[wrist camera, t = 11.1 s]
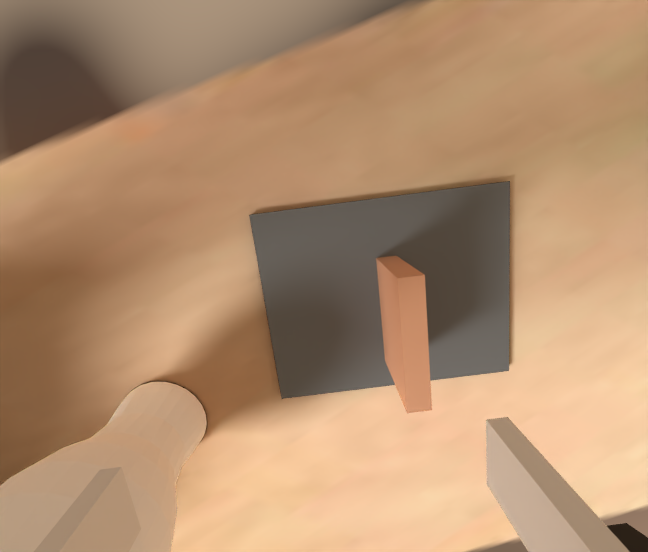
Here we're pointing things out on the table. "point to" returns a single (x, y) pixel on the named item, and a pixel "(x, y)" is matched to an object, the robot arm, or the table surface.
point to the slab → (405, 330)
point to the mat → (363, 290)
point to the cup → (110, 452)
